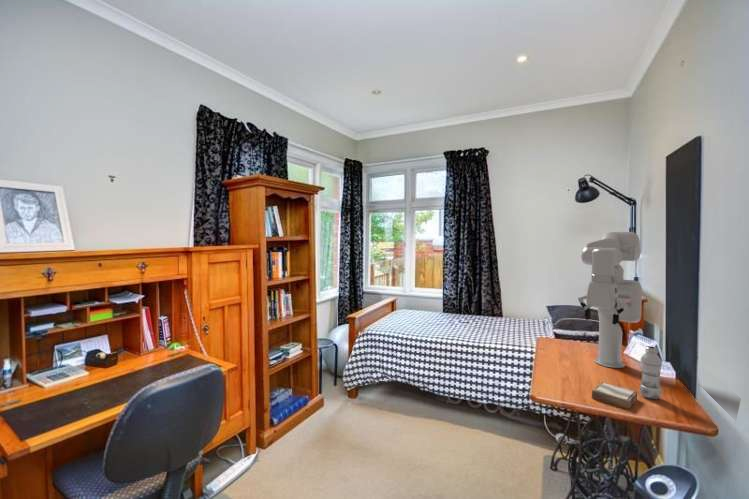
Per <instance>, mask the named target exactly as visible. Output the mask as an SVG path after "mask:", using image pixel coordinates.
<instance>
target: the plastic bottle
mask: <svg viewBox="0 0 749 499" xmlns="http://www.w3.org/2000/svg"><path fill="white" fill-rule="evenodd" d="M658 354H659V348H658V347H655V346H651V345H650V346H649V345H647V346H645V353H644V354H643V355H642V356H641V358H640V363H641V383H640V386H639V391H640V394H641V395H642V396H643V397H644V398H647V399H649V400H650V399H651V400H659V399H661V397H662V388H661V380H660V378H661V370H662V365H663V362H662V360H661V358H660V356H659V355H658Z"/></svg>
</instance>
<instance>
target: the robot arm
mask: <svg viewBox="0 0 749 499" xmlns="http://www.w3.org/2000/svg"><path fill="white" fill-rule="evenodd" d="M640 257H641V242H640V238H639V236H638V234H637V233H635V232H633V231H608V232H606V233H604V234H603V235H602V237H601V239H599V240H594V241H591V242H588V243H587V244H585V246H584V248H583V249H582V251H581V261H582V262H583V263H584V264H585V265H588V266H591V281H589V283H588V286H587V292H586V295H584V296H581V297H578V298H577V300H578V302H579V304H580V306H581V307H582V308H583V310H584V318H585V320H586V321H588V320H590V319H591V312H592V310H591V309H590V308H592V307H594V308H597V315H598V323H599V324H598V327H599V328H598V353H597V354H598V357H595V358H594V362H595V363H596V364H598V365H600V366H603V367H607V368H612V369H621V368H622V369H623V368H625V366H626V363H625V362H624V361H622V353H623V352H622V351H623V349H622V348H623V329H622V327H621V326H620V324H619V322H624V323H630V324H631V323H632V324H634V323H635V324H636V323H639V322H640V321H641V318H642V307H643V306H642V303H643V301H642V300H643V298H642V297H643V289H642V288H643V287H642V285H641V283H640V281H637V280H635V279H634V280H632V279H625V278H624V272H625V271H624V268H623V266H622V265H621V263H622V262H635V261H637V260H639V259H640ZM584 300H586V303H585V301H584ZM623 300H627V301H628V302H627V301H623Z"/></svg>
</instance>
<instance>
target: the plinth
mask: <svg viewBox="0 0 749 499" xmlns="http://www.w3.org/2000/svg"><path fill="white" fill-rule="evenodd" d="M591 399H592V400H593V399H594V400H597V401H600V402H603V403H605V404H610V405H612V406H616V407H619V408H622V409H625V410H629V409H631V407H632V406H633V404H635V402H636V401H638V391H635V390H632V389H628V388H625V387H621V386H616V385H613V384H609V383H606V382H603V381H602V382H600V383H599V384H598V385H597V386H596V387H594V388H593V389H592V390H591Z"/></svg>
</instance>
